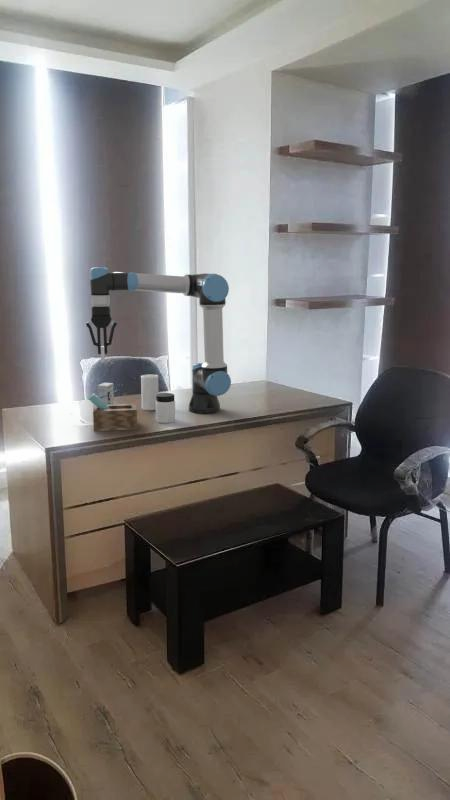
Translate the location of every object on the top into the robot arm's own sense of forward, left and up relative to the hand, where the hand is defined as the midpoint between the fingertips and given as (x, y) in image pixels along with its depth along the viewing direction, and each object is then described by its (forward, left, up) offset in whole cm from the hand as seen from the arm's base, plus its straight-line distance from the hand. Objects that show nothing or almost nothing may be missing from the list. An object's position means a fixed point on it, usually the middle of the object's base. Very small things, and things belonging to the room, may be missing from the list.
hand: (103, 361), depth 260 cm
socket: (-5, 0, -28) cm, 28 cm away
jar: (-21, -17, -28) cm, 39 cm away
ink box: (+16, -30, -28) cm, 44 cm away
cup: (-4, -37, -28) cm, 46 cm away
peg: (-6, 0, -26) cm, 26 cm away
